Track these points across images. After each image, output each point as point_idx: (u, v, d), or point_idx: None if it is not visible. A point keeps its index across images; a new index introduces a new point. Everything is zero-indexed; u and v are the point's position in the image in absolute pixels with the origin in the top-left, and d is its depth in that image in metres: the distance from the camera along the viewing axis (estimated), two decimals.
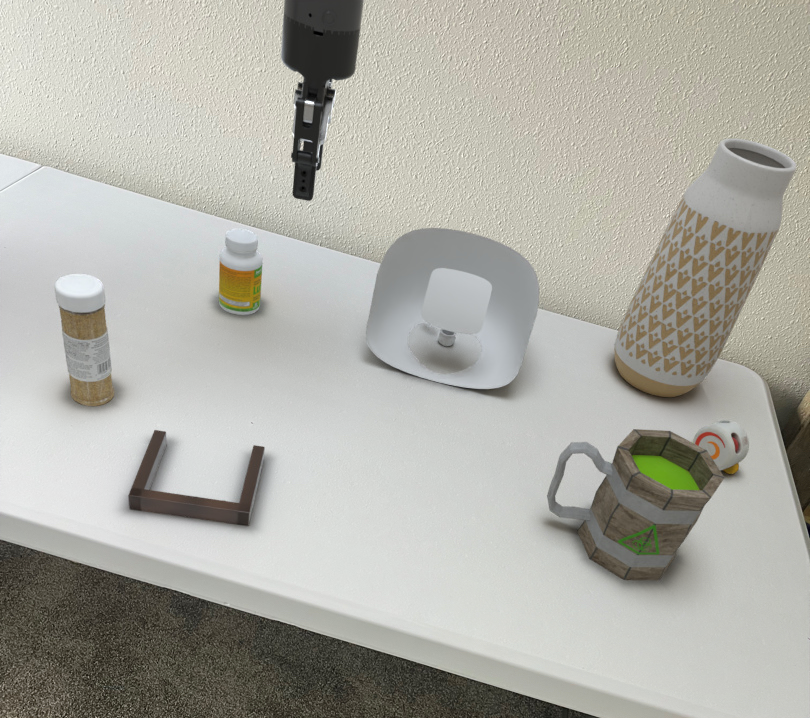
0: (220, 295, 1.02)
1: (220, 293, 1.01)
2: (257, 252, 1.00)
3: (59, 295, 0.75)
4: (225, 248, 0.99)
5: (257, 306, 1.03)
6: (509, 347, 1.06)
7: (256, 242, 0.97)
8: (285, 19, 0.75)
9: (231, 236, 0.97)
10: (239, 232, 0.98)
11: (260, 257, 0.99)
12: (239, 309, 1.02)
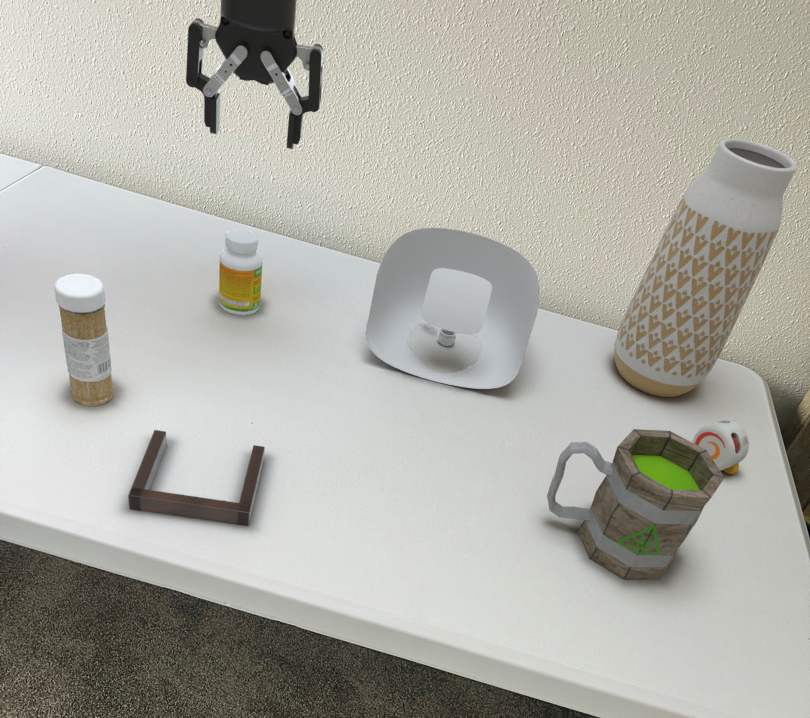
0: (220, 295, 1.02)
1: (220, 293, 1.01)
2: (257, 252, 1.00)
3: (59, 295, 0.75)
4: (225, 248, 0.99)
5: (257, 306, 1.03)
6: (509, 347, 1.06)
7: (256, 242, 0.97)
8: None
9: (231, 236, 0.97)
10: (239, 232, 0.98)
11: (260, 257, 0.99)
12: (239, 309, 1.02)
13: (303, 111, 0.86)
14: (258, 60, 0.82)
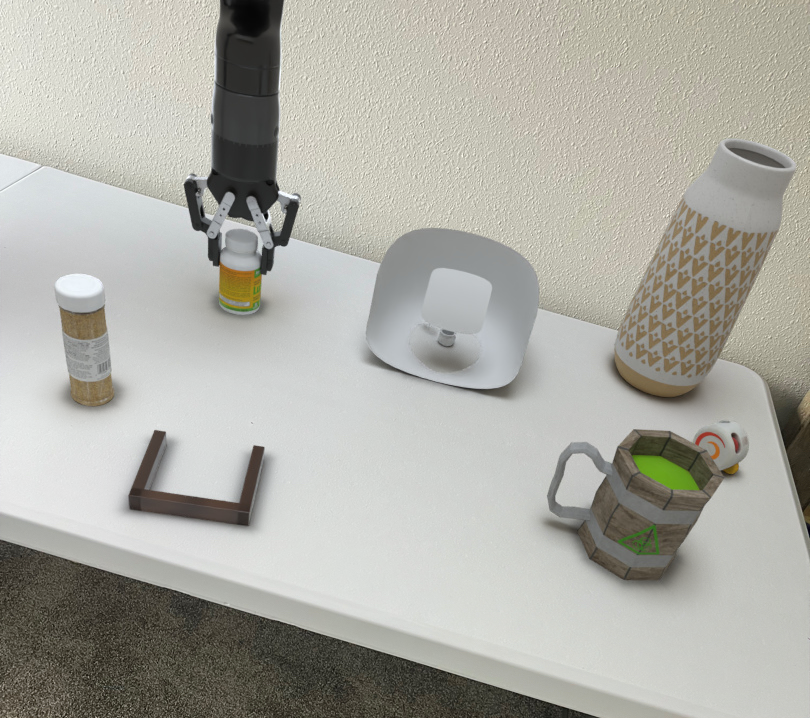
0: (220, 295, 1.02)
1: (220, 293, 1.01)
2: (257, 252, 1.00)
3: (59, 295, 0.75)
4: (225, 248, 0.99)
5: (257, 306, 1.03)
6: (509, 347, 1.06)
7: (256, 242, 0.97)
8: None
9: (231, 236, 0.97)
10: (239, 232, 0.98)
11: (260, 257, 0.99)
12: (239, 309, 1.02)
13: (274, 245, 0.97)
14: (244, 202, 0.93)
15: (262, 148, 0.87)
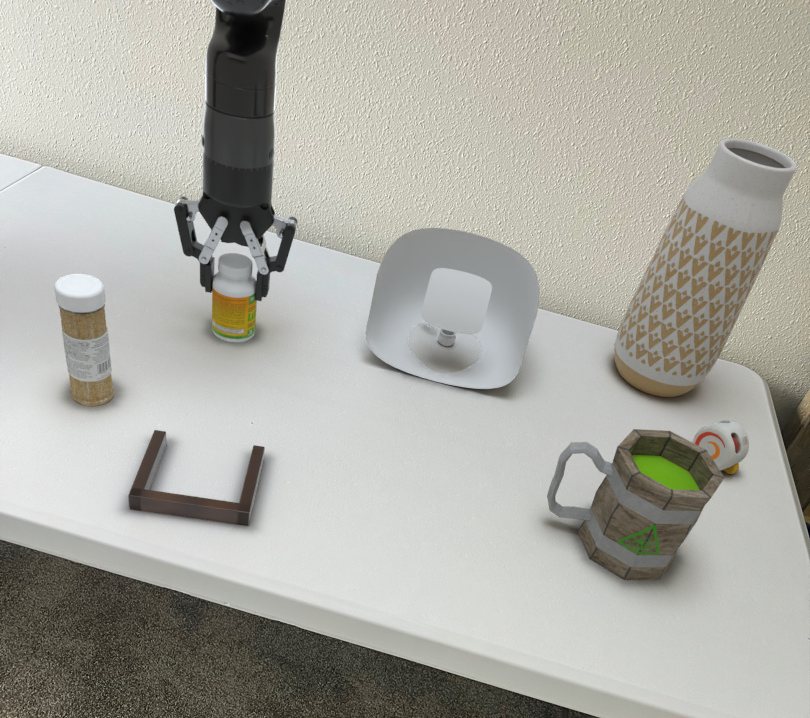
0: (212, 321, 0.97)
1: (213, 320, 0.97)
2: (252, 277, 0.95)
3: (59, 295, 0.75)
4: (218, 273, 0.94)
5: (252, 333, 0.99)
6: (509, 347, 1.06)
7: (251, 267, 0.93)
8: None
9: (224, 262, 0.92)
10: (233, 257, 0.93)
11: (255, 283, 0.95)
12: (233, 336, 0.97)
13: (270, 270, 0.93)
14: (238, 227, 0.89)
15: (257, 171, 0.83)
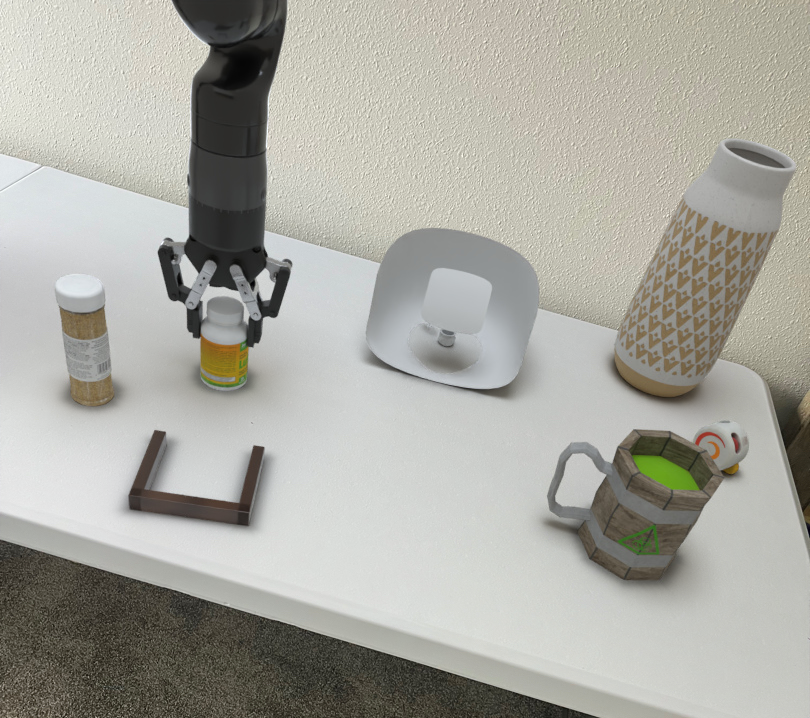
0: (201, 368, 0.90)
1: (202, 367, 0.90)
2: (243, 322, 0.88)
3: (59, 295, 0.75)
4: (207, 318, 0.87)
5: (244, 380, 0.91)
6: (509, 347, 1.06)
7: (242, 312, 0.86)
8: None
9: (213, 307, 0.85)
10: (223, 301, 0.86)
11: (247, 328, 0.88)
12: (223, 385, 0.90)
13: (262, 316, 0.86)
14: (228, 270, 0.81)
15: (247, 213, 0.75)
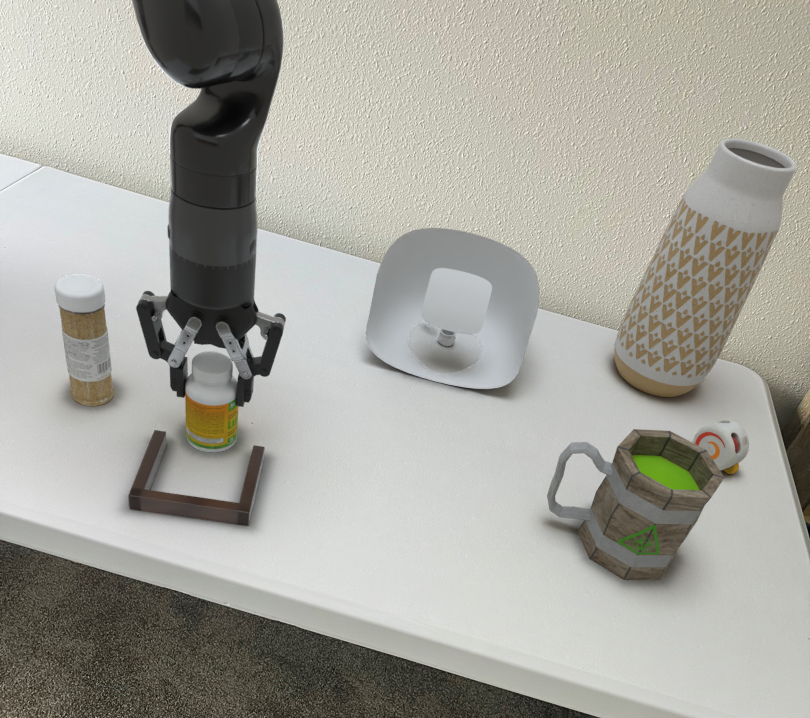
0: (186, 428, 0.82)
1: (187, 427, 0.82)
2: (232, 379, 0.80)
3: (59, 295, 0.75)
4: (192, 376, 0.79)
5: (233, 440, 0.84)
6: (509, 347, 1.06)
7: (230, 370, 0.78)
8: None
9: (198, 365, 0.77)
10: (210, 357, 0.78)
11: (236, 386, 0.80)
12: (211, 446, 0.82)
13: (253, 374, 0.78)
14: (214, 327, 0.74)
15: (235, 269, 0.68)
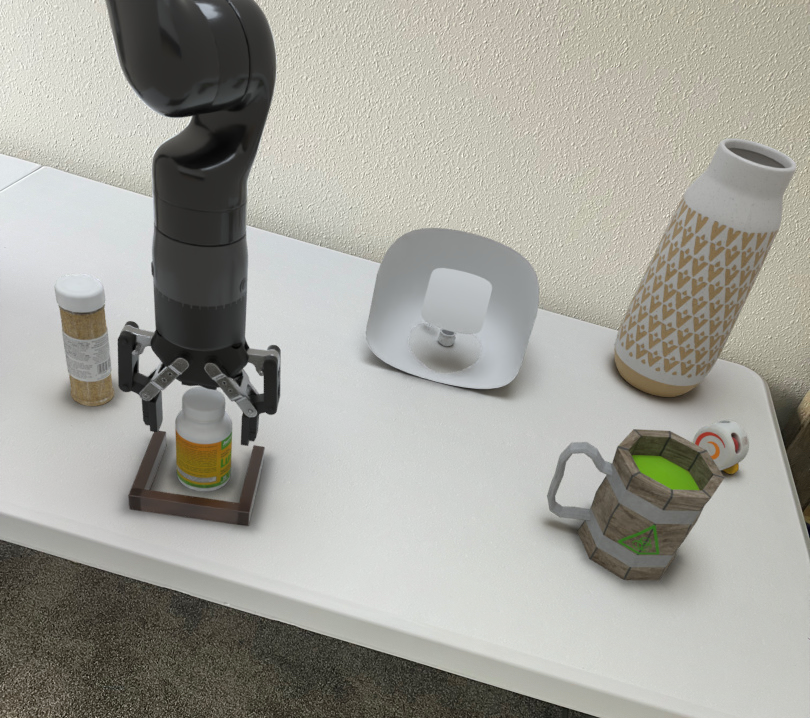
0: (177, 466, 0.78)
1: (177, 465, 0.78)
2: (225, 416, 0.76)
3: (59, 295, 0.75)
4: (183, 412, 0.75)
5: (226, 478, 0.79)
6: (509, 347, 1.06)
7: (223, 407, 0.74)
8: None
9: (189, 402, 0.73)
10: (201, 393, 0.74)
11: (229, 423, 0.76)
12: (202, 485, 0.78)
13: (258, 412, 0.73)
14: (203, 368, 0.69)
15: (223, 308, 0.63)
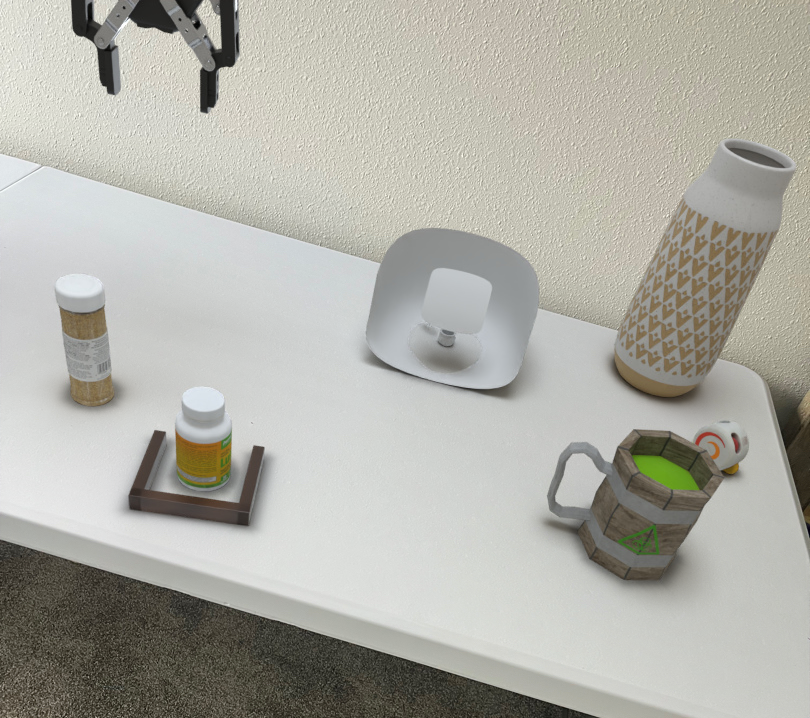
0: (177, 467, 0.78)
1: (177, 465, 0.78)
2: (225, 415, 0.76)
3: (59, 295, 0.75)
4: (182, 412, 0.75)
5: (226, 478, 0.79)
6: (509, 347, 1.06)
7: (223, 407, 0.74)
8: None
9: (189, 401, 0.73)
10: (201, 393, 0.74)
11: (229, 422, 0.76)
12: (202, 485, 0.78)
13: (217, 66, 0.71)
14: (158, 2, 0.67)
15: None
